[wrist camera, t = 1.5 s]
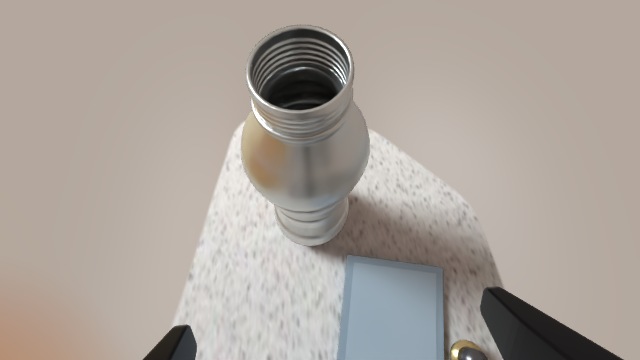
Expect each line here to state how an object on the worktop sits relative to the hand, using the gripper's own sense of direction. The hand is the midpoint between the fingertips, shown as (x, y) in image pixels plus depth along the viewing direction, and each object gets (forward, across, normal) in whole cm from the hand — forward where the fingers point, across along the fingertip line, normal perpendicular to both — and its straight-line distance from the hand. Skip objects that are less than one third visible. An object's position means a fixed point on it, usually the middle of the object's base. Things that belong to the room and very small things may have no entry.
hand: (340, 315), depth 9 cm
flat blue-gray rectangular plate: (+11, -5, +14) cm, 19 cm away
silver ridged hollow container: (+18, 0, +7) cm, 20 cm away
